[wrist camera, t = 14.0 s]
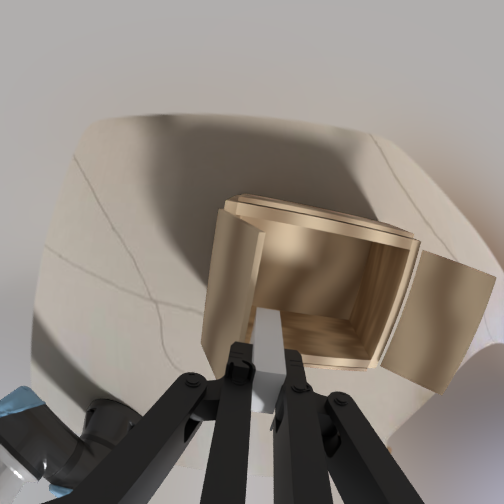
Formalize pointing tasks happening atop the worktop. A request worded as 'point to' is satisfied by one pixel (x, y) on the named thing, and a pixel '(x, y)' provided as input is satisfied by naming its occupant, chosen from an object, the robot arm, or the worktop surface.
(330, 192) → the worktop surface
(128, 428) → the robot arm
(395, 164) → the worktop surface
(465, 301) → the flap
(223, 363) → the flap
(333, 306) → the carton
